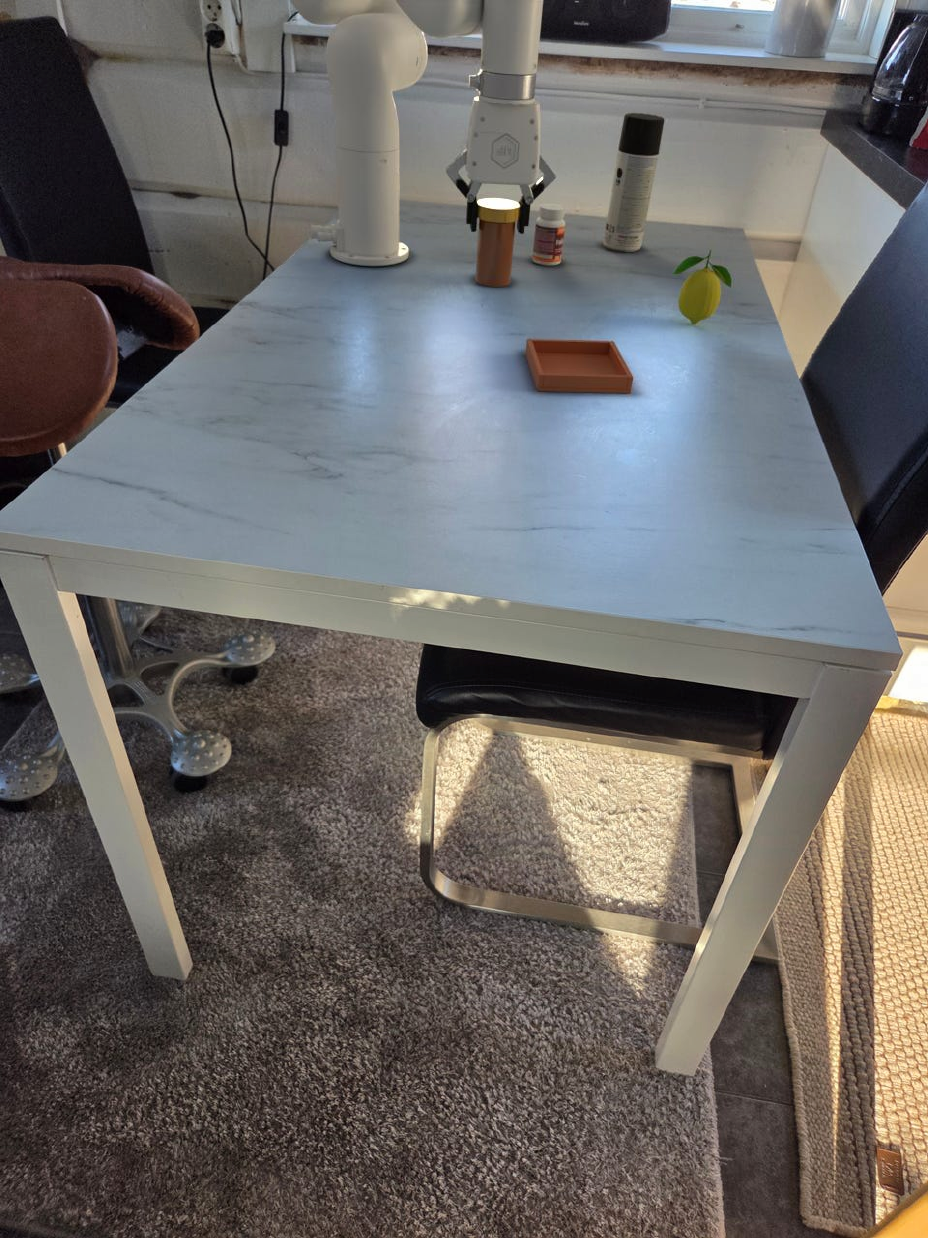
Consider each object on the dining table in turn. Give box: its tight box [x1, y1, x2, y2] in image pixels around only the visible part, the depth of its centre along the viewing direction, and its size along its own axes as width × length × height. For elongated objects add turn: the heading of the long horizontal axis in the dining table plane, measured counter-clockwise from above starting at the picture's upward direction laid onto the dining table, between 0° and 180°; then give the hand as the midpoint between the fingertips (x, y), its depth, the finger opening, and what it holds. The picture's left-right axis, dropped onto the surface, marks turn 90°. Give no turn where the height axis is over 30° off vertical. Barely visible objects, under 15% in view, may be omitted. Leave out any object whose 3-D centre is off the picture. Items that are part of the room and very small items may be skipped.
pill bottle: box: [531, 203, 566, 267], centre depth 134 cm, size 5×5×8 cm
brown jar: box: [474, 218, 517, 288], centre depth 124 cm, size 5×5×11 cm
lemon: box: [672, 249, 732, 325], centre depth 114 cm, size 7×6×10 cm
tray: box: [524, 338, 634, 394], centre depth 101 cm, size 11×11×2 cm
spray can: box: [603, 112, 665, 253], centre depth 139 cm, size 7×7×20 cm
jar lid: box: [477, 197, 521, 223], centre depth 121 cm, size 6×6×2 cm
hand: (496, 229), depth 122 cm, fingers closed on jar lid, 6 cm apart
